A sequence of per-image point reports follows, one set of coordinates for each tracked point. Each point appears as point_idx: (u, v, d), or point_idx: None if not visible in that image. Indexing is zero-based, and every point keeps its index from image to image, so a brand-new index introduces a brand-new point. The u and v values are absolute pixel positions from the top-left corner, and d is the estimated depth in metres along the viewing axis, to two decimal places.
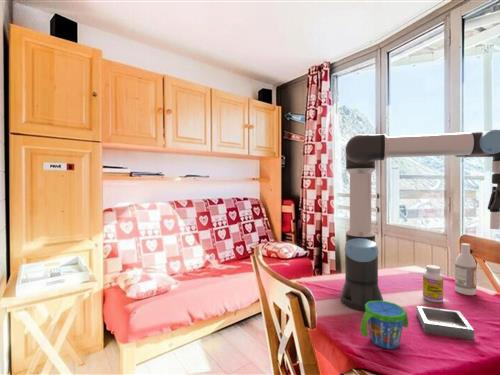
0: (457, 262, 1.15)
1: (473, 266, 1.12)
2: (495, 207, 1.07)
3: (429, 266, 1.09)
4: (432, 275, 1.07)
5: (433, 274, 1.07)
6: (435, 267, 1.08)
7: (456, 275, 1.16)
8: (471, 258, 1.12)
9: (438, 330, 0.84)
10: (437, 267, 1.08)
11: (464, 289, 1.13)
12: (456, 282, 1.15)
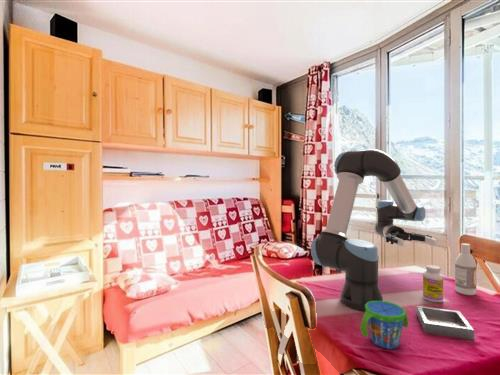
0: (457, 262, 1.15)
1: (473, 266, 1.12)
2: None
3: (429, 266, 1.09)
4: (432, 275, 1.07)
5: (432, 274, 1.07)
6: (435, 267, 1.08)
7: (456, 275, 1.16)
8: (471, 258, 1.12)
9: (438, 330, 0.84)
10: (437, 267, 1.08)
11: (464, 289, 1.13)
12: (456, 282, 1.15)
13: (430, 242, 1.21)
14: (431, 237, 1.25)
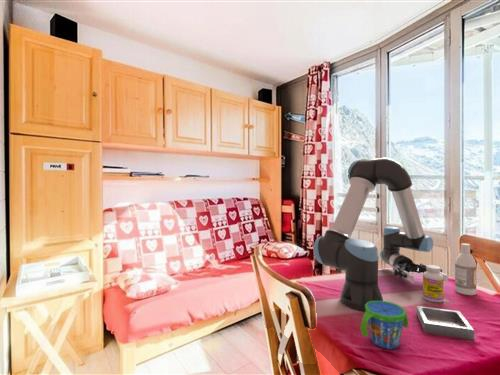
0: (457, 262, 1.15)
1: (473, 266, 1.12)
2: (403, 271, 1.21)
3: (429, 266, 1.09)
4: (432, 275, 1.07)
5: (433, 274, 1.07)
6: (435, 267, 1.08)
7: (456, 275, 1.16)
8: (471, 258, 1.12)
9: (438, 330, 0.84)
10: (437, 267, 1.08)
11: (464, 289, 1.13)
12: (456, 282, 1.15)
13: None
14: (441, 270, 1.19)
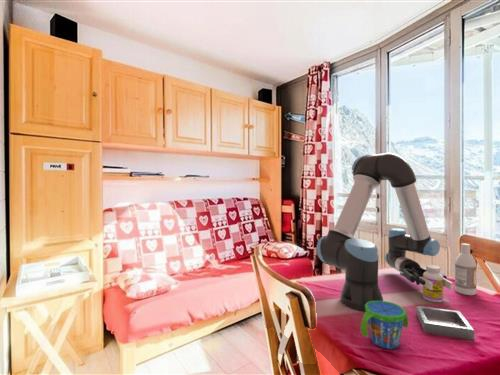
0: (457, 262, 1.15)
1: (473, 266, 1.12)
2: None
3: (429, 266, 1.09)
4: (432, 275, 1.07)
5: (432, 274, 1.07)
6: (435, 267, 1.08)
7: (456, 275, 1.16)
8: (471, 258, 1.12)
9: (438, 330, 0.84)
10: (437, 267, 1.08)
11: (464, 289, 1.13)
12: (456, 282, 1.15)
13: (445, 284, 1.06)
14: (446, 277, 1.11)
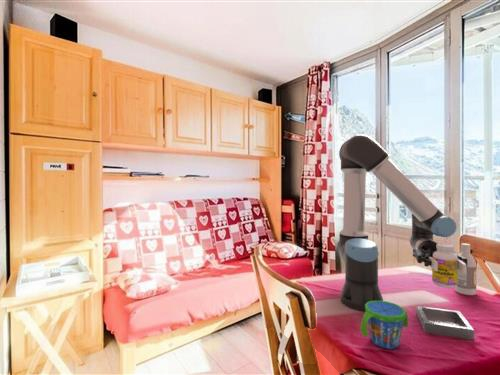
0: None
1: (473, 266, 1.12)
2: None
3: (440, 244, 0.90)
4: (440, 255, 0.88)
5: (442, 253, 0.88)
6: (447, 245, 0.89)
7: None
8: (471, 258, 1.12)
9: (438, 330, 0.84)
10: (449, 246, 0.88)
11: (464, 289, 1.13)
12: None
13: (459, 267, 0.86)
14: (466, 260, 0.90)
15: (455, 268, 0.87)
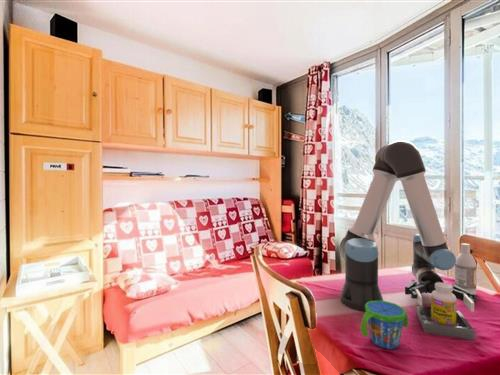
0: (457, 262, 1.15)
1: (473, 266, 1.12)
2: (418, 290, 0.96)
3: (438, 284, 0.90)
4: (438, 295, 0.87)
5: (440, 294, 0.88)
6: (445, 286, 0.88)
7: (456, 275, 1.16)
8: (471, 258, 1.12)
9: (438, 330, 0.84)
10: (448, 286, 0.88)
11: None
12: (456, 282, 1.15)
13: (467, 304, 0.86)
14: (475, 296, 0.89)
15: (453, 310, 0.86)
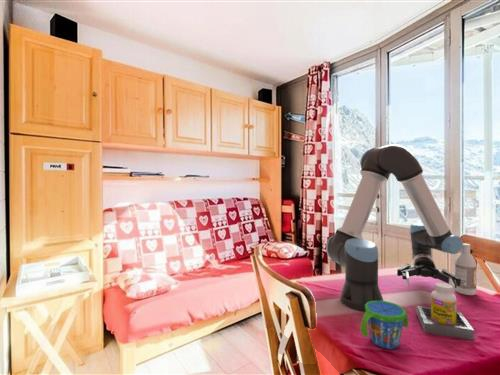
0: (457, 262, 1.15)
1: (473, 266, 1.12)
2: (409, 272, 1.09)
3: (438, 284, 0.90)
4: (438, 295, 0.87)
5: (440, 294, 0.88)
6: (445, 286, 0.88)
7: (456, 275, 1.16)
8: (471, 258, 1.12)
9: (438, 330, 0.84)
10: (448, 286, 0.88)
11: (464, 289, 1.13)
12: None
13: None
14: (459, 280, 1.01)
15: (453, 310, 0.86)
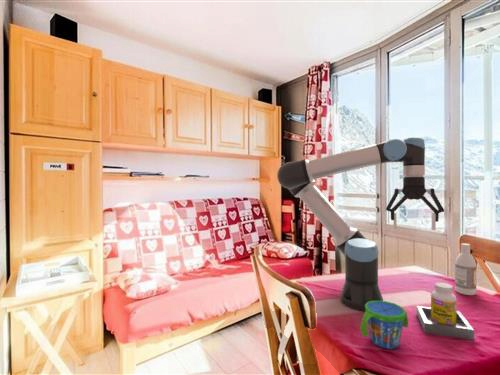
0: (457, 262, 1.15)
1: (473, 266, 1.12)
2: None
3: (438, 284, 0.90)
4: (438, 295, 0.87)
5: (440, 294, 0.88)
6: (445, 286, 0.88)
7: (456, 275, 1.16)
8: (471, 258, 1.12)
9: (438, 330, 0.84)
10: (448, 286, 0.88)
11: (464, 289, 1.13)
12: (456, 282, 1.15)
13: (432, 222, 1.11)
14: (442, 211, 1.09)
15: (453, 310, 0.86)
